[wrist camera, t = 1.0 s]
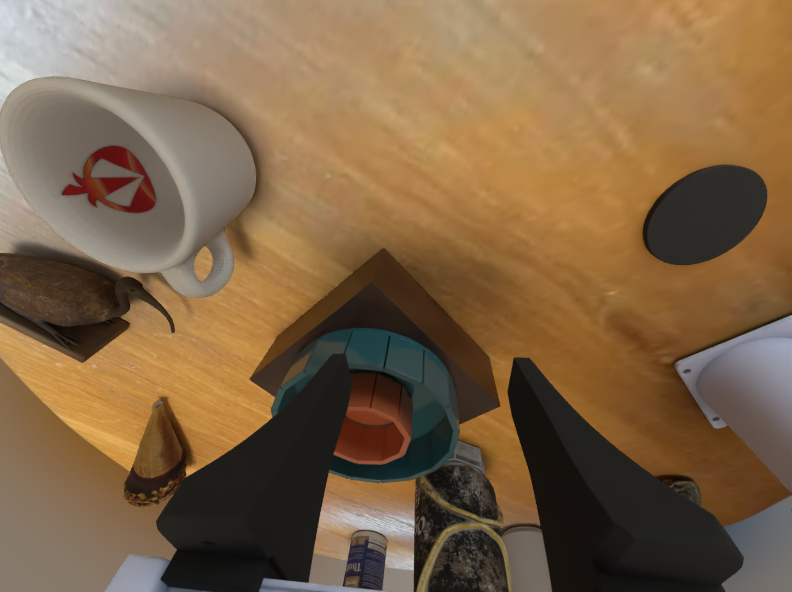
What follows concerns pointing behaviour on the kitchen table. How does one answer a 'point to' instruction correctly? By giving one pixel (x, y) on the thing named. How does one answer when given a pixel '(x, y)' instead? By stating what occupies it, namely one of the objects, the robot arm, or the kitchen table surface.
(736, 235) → the coaster
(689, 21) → the kitchen table surface
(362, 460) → the small bowl
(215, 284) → the cup
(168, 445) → the ice cream cone
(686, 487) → the corroded twin loop
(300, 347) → the stand
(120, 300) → the figurine
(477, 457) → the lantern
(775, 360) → the robot arm
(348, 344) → the big bowl
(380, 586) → the pill bottle
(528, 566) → the can
